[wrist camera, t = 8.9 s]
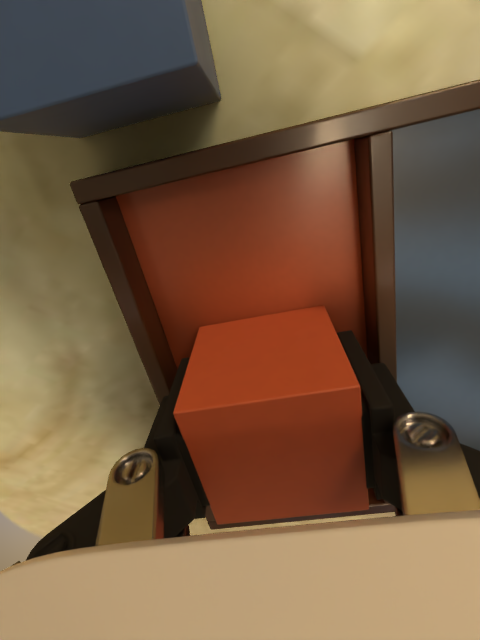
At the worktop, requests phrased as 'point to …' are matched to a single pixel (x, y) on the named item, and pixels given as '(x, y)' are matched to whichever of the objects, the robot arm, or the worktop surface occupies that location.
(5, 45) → the slate-blue block
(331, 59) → the worktop surface
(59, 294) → the worktop surface
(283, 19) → the worktop surface
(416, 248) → the sorting tray
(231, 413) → the terracotta block
